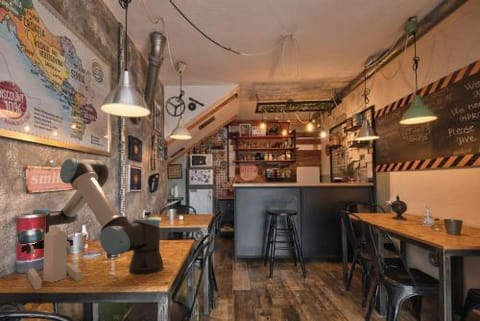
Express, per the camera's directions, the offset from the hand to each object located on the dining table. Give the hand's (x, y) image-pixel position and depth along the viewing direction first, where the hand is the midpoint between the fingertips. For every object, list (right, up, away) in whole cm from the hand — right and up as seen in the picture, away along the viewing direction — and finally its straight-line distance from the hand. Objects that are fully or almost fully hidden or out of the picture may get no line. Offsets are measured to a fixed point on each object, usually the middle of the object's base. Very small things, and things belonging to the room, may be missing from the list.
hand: (51, 248), depth 130 cm
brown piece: (+5, -11, -6) cm, 14 cm away
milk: (+5, -12, -6) cm, 14 cm away
